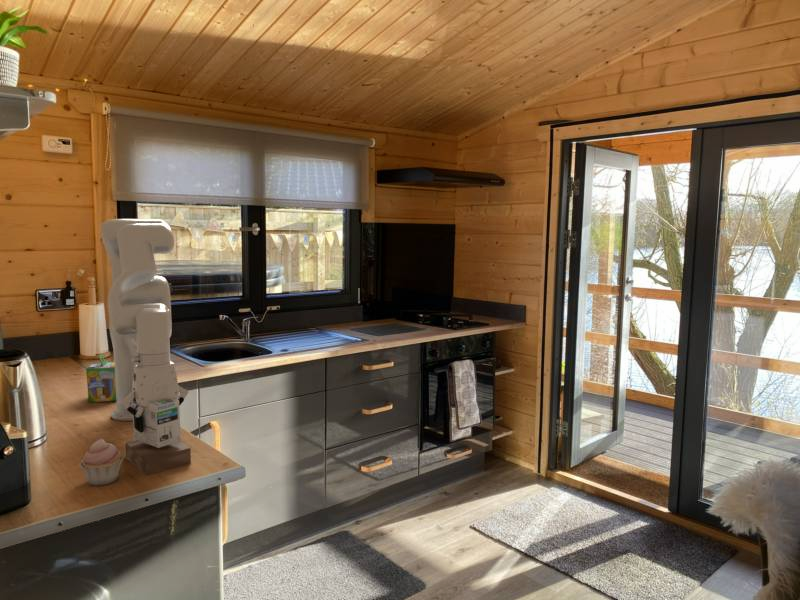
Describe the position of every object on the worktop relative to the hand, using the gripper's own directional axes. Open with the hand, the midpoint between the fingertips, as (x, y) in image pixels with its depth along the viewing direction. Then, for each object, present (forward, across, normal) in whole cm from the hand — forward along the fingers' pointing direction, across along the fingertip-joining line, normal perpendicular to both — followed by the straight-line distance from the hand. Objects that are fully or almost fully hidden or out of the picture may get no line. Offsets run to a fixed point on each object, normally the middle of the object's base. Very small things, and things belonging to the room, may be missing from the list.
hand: (156, 426), depth 157 cm
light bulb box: (+4, 0, 0) cm, 4 cm away
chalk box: (+9, +7, +63) cm, 64 cm away
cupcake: (+9, -14, -4) cm, 17 cm away
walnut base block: (+9, 0, 0) cm, 9 cm away
